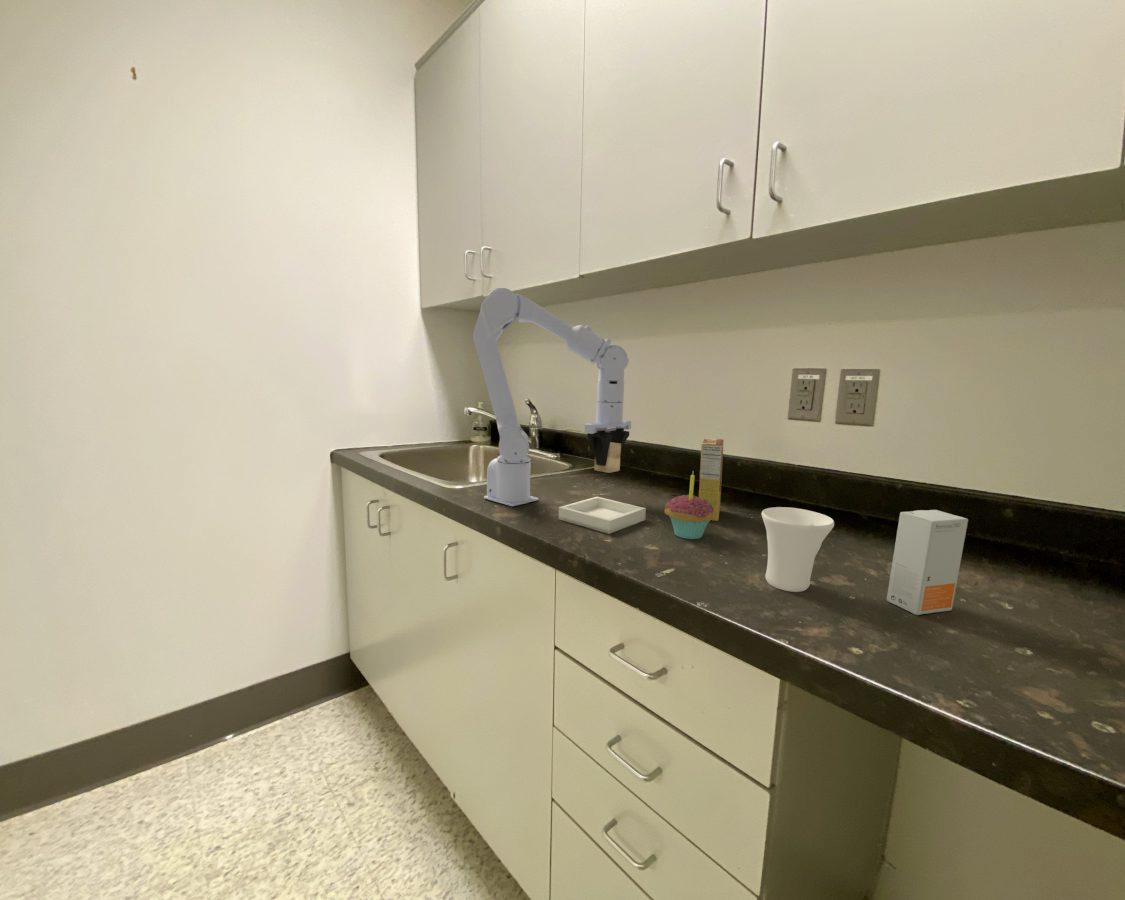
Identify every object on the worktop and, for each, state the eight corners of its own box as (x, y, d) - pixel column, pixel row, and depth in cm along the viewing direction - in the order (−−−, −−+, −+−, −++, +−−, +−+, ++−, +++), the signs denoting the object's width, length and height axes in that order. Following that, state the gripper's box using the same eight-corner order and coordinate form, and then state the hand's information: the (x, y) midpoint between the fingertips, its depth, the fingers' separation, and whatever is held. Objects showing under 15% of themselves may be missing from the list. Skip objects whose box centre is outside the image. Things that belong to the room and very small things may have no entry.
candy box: (699, 507, 104) (704, 437, 102) (720, 510, 103) (725, 439, 100) (695, 519, 96) (701, 443, 93) (718, 521, 94) (724, 444, 92)
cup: (765, 596, 62) (772, 522, 61) (748, 568, 71) (754, 503, 70) (838, 602, 61) (848, 527, 60) (811, 573, 70) (819, 507, 69)
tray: (558, 519, 93) (558, 507, 93) (596, 507, 102) (596, 496, 101) (608, 534, 85) (609, 520, 85) (645, 520, 94) (645, 508, 94)
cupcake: (715, 544, 81) (721, 475, 79) (664, 540, 82) (668, 472, 81) (708, 529, 90) (713, 465, 88) (662, 525, 91) (666, 463, 89)
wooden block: (594, 470, 106) (595, 443, 105) (605, 467, 109) (606, 441, 108) (609, 472, 104) (610, 445, 103) (619, 470, 107) (620, 443, 106)
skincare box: (917, 617, 58) (932, 521, 56) (885, 601, 62) (898, 511, 60) (954, 611, 60) (970, 518, 58) (920, 596, 64) (934, 508, 62)
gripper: (604, 404, 96) (602, 470, 98) (643, 402, 107) (640, 462, 109) (577, 401, 101) (575, 465, 103) (617, 400, 111) (614, 458, 114)
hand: (607, 463), depth 106 cm, fingers closed on wooden block, 4 cm apart
